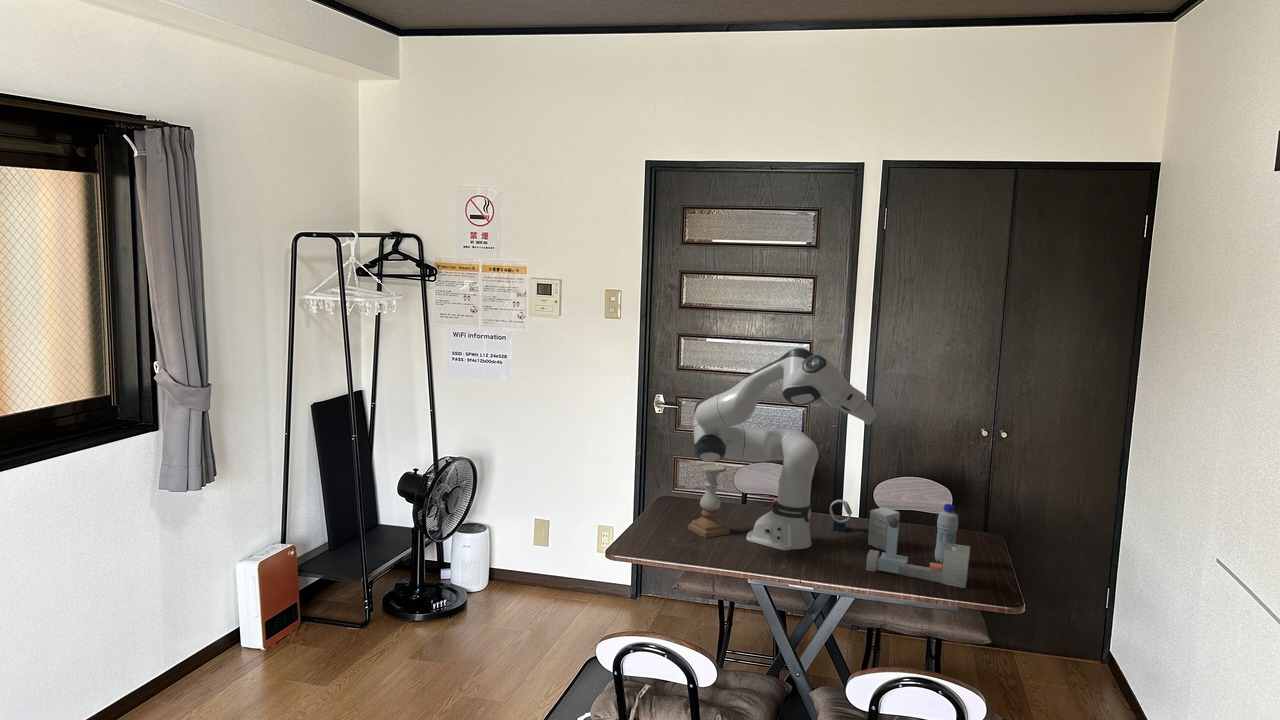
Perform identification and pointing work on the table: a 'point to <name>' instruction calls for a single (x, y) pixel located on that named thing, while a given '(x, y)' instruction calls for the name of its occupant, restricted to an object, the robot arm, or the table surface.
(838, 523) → the watch
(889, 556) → the ball-topped pillar
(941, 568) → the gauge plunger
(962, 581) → the grey slide rail
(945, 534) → the bottle
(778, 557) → the table surface
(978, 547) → the table surface
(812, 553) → the table surface
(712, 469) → the candle holder
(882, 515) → the supplement box
